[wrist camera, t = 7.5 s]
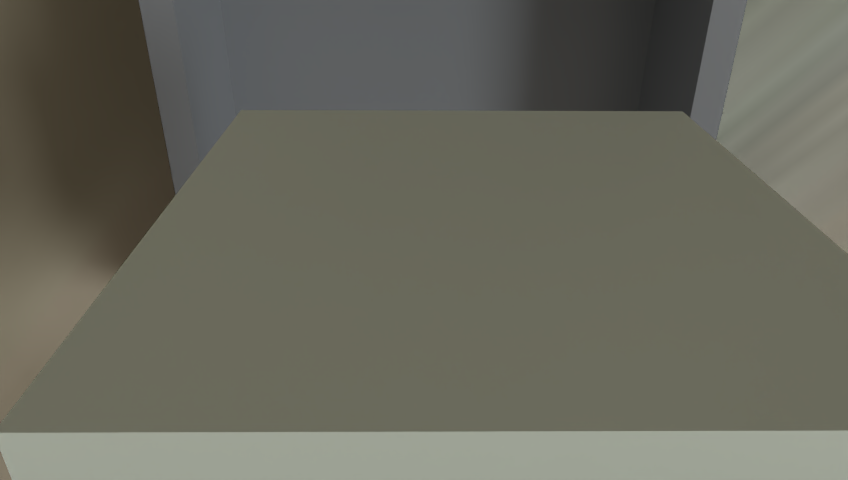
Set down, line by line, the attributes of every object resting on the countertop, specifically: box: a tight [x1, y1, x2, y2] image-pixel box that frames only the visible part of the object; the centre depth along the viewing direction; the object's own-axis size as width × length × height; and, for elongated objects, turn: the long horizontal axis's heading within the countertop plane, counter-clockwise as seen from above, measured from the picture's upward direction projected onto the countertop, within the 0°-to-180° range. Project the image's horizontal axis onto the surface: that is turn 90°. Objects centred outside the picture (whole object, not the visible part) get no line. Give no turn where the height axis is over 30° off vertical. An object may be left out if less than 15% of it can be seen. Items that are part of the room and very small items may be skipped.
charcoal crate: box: [139, 0, 747, 195], centre depth 25 cm, size 16×18×6 cm
